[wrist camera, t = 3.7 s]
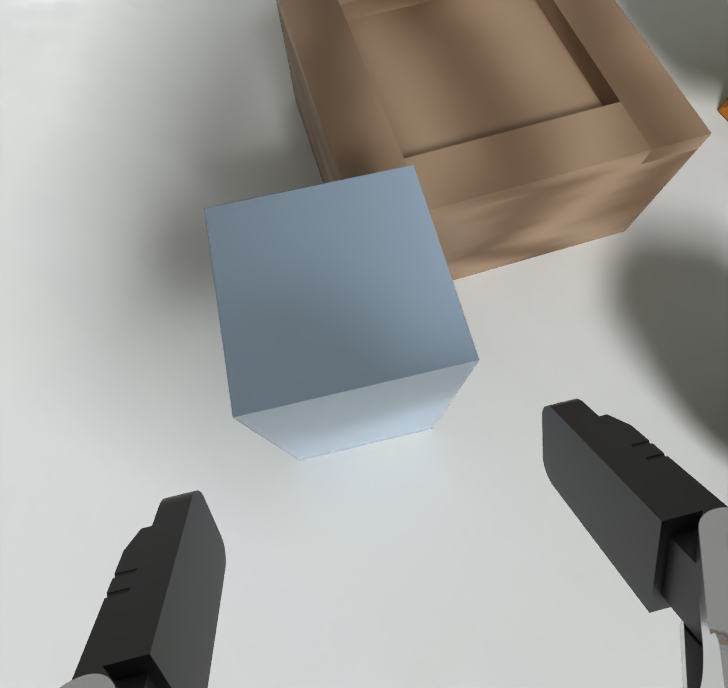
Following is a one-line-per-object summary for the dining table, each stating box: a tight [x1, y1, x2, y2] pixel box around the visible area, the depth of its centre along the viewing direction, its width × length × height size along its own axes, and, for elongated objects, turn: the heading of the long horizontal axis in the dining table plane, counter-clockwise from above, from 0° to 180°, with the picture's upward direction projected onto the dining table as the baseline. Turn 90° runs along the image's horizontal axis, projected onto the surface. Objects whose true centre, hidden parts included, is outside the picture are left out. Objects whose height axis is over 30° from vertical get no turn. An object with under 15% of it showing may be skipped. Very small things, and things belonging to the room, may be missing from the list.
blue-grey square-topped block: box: [204, 165, 479, 461], centre depth 17 cm, size 6×6×10 cm
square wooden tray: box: [276, 0, 711, 280], centre depth 23 cm, size 14×14×7 cm
